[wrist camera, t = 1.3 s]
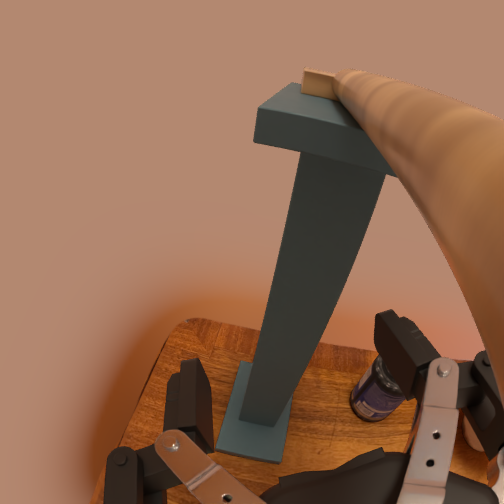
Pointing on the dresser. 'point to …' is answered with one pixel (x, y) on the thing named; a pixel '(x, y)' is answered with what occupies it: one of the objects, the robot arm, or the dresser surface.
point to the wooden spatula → (440, 179)
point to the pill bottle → (376, 393)
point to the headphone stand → (303, 260)
